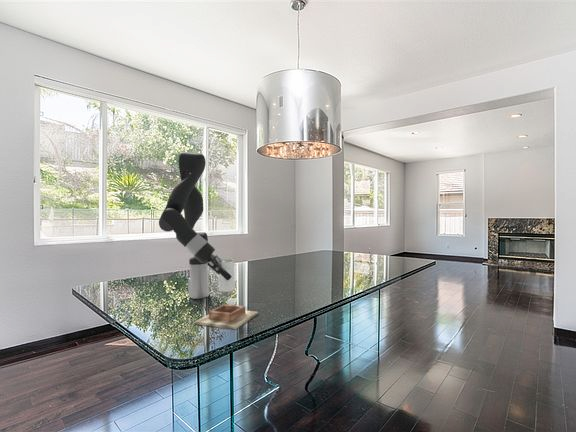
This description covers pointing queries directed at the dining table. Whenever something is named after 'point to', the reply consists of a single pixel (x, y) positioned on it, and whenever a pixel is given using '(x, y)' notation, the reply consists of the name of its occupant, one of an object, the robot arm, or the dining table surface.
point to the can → (223, 283)
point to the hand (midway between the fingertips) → (230, 276)
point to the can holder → (227, 317)
